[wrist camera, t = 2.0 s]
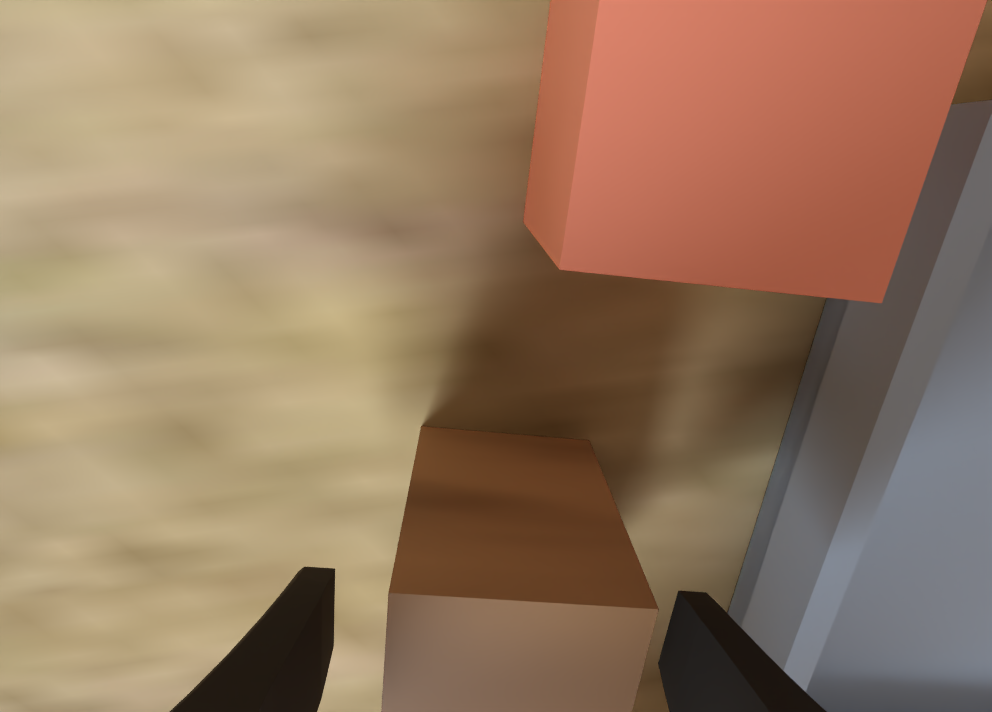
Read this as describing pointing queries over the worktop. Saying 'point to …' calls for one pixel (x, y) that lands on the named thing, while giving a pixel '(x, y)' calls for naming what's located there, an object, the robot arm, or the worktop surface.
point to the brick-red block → (741, 137)
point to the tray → (892, 471)
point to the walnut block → (513, 582)
